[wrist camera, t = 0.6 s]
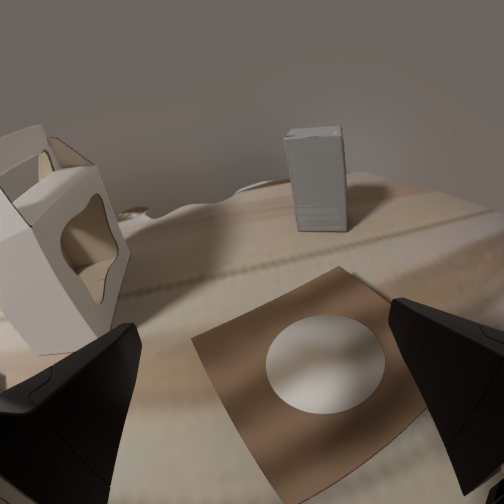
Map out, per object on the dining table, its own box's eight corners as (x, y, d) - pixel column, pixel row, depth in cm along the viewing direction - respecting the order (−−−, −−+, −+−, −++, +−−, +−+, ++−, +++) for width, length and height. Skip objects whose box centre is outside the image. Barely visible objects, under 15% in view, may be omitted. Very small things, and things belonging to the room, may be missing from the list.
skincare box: (347, 214, 46) (344, 124, 37) (346, 236, 41) (345, 133, 32) (300, 213, 49) (291, 126, 40) (293, 234, 44) (282, 134, 35)
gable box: (75, 269, 46) (21, 137, 31) (131, 253, 47) (80, 105, 32) (37, 357, 28) (-65, 181, 12) (106, 350, 29) (-5, 125, 13)
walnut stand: (451, 380, 18) (464, 362, 17) (289, 509, 13) (287, 508, 11) (338, 285, 32) (339, 264, 31) (199, 355, 27) (190, 337, 25)
